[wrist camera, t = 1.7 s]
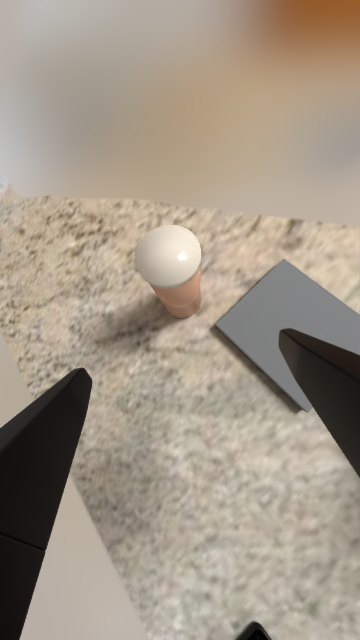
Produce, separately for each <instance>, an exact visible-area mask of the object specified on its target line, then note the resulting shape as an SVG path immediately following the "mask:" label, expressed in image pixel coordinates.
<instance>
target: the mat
mask: <svg viewBox="0 0 360 640" xmlns="http://www.w3.org/2000/svg"><path fill="white" fill-rule="evenodd" d="M215 326H216V327H217V328H218V329H219V330H220V331H221V332H222V333H223V334H224V335H225V336H226V337H227V338H228V339H229V340H230V341H231V342H232V343H233V344H234V345H235V346H237V347H238V348H239V349H240V350H241V351H242V352H243V353H244V354H245V355H246V356H247V357H248V358H249V359H250V360H251V361H252V362H253V363H254V364H255V365H256V366H257V367H258V368H259V369H260V370H261V371H262V372H264V373H265V374H266V375H267V376H268V377H269V378H270V379H271V380H272V381H273V382H274V383H275V384H276V385H277V386H278V387H279V388H280V389H281V390H282V391H283V392H284V393H285V394H286V395H287V396H288V397H289V398H291V399H292V400H293V401H294V402H295V403H296V404H297V405H298V406H299V407H300V408H301V409H302V410H304V411H306V412H308V411H309V410H310V409H311V408H312V407H313V406H312V405H311V403H310V402H309V400H308V399H307V397H306V396H305V394H304V393H303V391H302V390H301V388H300V387H299V385H298V384H297V382H296V380H295V379H294V377H293V375H292V373H291V371H290V369H289V367H288V365H287V363H286V361H285V359H284V357H283V355H282V353H281V351H280V349H279V346H278V342H279V331H280V330H281V329H285V328H292V329H295V330H297V331H300V332H303V333H305V334H308V335H310V336H313V337H315V338H318V339H320V340H323V341H325V342H328V343H331V344H333V345H336V346H338V347H341V348H343V349H346V350H348V351H351V352H354V353H356V354H359V355H360V315H359V314H358V313H356V312H355V311H354V310H352V309H351V308H350V307H348V306H347V305H346V304H344V303H343V302H342V301H340V300H339V299H338V298H336V297H335V296H334V295H332V294H331V293H329V292H328V291H327V290H325V289H324V288H323V287H321V286H320V285H319V284H317V283H316V282H315V281H313V280H312V279H311V278H309V277H308V276H307V275H305V274H304V273H303V272H301V271H300V270H299V269H297V268H296V267H294V266H293V265H292V264H290V263H289V262H288V261H286V260H285V259H283V260H282V261H281V262H280V263H279V264H278V265H276V266H275V267H274V268H273V269H272V270H271V271H270V272H269V273H268V274H267V275H266V276H265V277H264V278H263V279H262V280H261V281H260V282H259V283H258V284H257V285H256V286H255V287H254V288H253V289H252V290H251V291H250V292H249V293H247V294H246V295H245V296H244V297H243V298H242V299H241V300H240V301H239V302H238V303H237V304H236V305H235V306H234V307H233V308H232V309H231V310H230V311H229V312H228V313H227V314H226V315H225V316H224V317H223V318H222V319H221V320H220V321H218V322H217V323H216V325H215Z"/></svg>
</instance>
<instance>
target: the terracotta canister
mask: <svg viewBox="0 0 360 640" xmlns="http://www.w3.org/2000/svg"><path fill="white" fill-rule="evenodd" d="M200 263H201V248H200V244H199V241H198V240H197V238H196V237H195V235H194V234H193V233H192V232H191V231H189V230H188V229H186V228H183V227H181V226H176V225H166V226H161V227H158V228H156V229H154V230H152V231H150V232H149V233H147V234H146V235H145V236H144V237H143V238H142V240H141V241H140V242H139V244H138V246H137V249H136V252H135V264H136V267H137V269H138V271H139V273H140V274H141V276H142V277H143V278H144V280H145V281H146V282H147V283H149V284H150V285H151V287H152V288H153V290H154V291H155V293H156V294H157V296H158V297H159V299H160V300H161V302H162V303H163V305H164V306H165V308H166V309H167V311H168V312H169V313H170V314H171V315H173V316H175V317H177V318H187V317H190V316H192V315H194V314H195V313H196V312H197V311H198V309H199V307H200V305H201V287H200V268H199V267H200Z"/></svg>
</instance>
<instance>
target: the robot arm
mask: <svg viewBox="0 0 360 640" xmlns="http://www.w3.org/2000/svg"><path fill="white" fill-rule="evenodd" d="M278 346H279V349H280V351H281V353H282V355H283V357H284V359H285V361H286V363H287V365H288V367H289V369H290V371H291V373H292V375H293V377H294V379H295V380H296V382H297V384H298V385H299V387H300V388H301V390H302V391H303V393H304V394H305V396H306V397H307V399H308V400H309V402H310V403H311V405H312V406H313V408H314V409H315V411H316V412H317V414H318V415H319V417H320V418H321V420H322V421H323V423H324V425H325V426H326V428H327V429H328V431H329V432H330V434H331V435H332V437H333V438H334V440H335V441H336V443H337V444H338V446H339V447H340V449H341V450H342V452H343V453H344V455H345V456H346V458H347V459H348V461H349V462H350V464H351V465H352V467H353V468H354V470H355V471H356V473H357V474H358V476H359V477H360V355H359V354H356V353H354V352H351V351H348V350H346V349H343V348H341V347H338V346H336V345H333V344H331V343H328V342H325V341H323V340H320V339H318V338H315V337H313V336H310V335H308V334H305V333H303V332H300V331H297V330H295V329H292V328H285V329H281V330H280V331H279V342H278ZM91 389H92V379H91V377H90V376H89V374H88V373H87V371H86V370H85V369H84V368H77V369H74V370H72V371H71V372H70V373H69V374H67V375H66V376H65V377H64V378H62V379H61V380H60V381H59V382H57V383H56V384H55V385H54V386H52V387H51V388H50V389H49V390H47V391H46V392H45V393H44V394H42V395H41V396H40V397H39V398H37V399H36V400H35V401H34V402H32V403H31V404H30V405H29V406H27V407H26V408H25V409H24V410H23V411H21V412H20V413H19V414H17V415H16V416H15V417H14V418H12V419H11V420H10V421H9V422H8V423H6V424H5V425H4V426H3V427H1V428H0V640H19V639H20V636H21V633H22V629H23V626H24V623H25V619H26V615H27V612H28V609H29V606H30V602H31V599H32V596H33V592H34V589H35V586H36V582H37V579H38V576H39V572H40V569H41V566H42V562H43V559H44V556H45V550H46V548H47V545H48V541H49V538H50V535H51V532H52V528H53V525H54V522H55V518H56V515H57V512H58V508H59V505H60V501H61V498H62V495H63V492H64V488H65V485H66V482H67V478H68V475H69V472H70V468H71V465H72V462H73V458H74V455H75V451H76V448H77V445H78V441H79V438H80V435H81V431H82V428H83V425H84V421H85V418H86V414H87V409H88V404H89V399H90V394H91ZM257 634H261V635H257ZM240 640H272V639H271V638H270V637H269V635H268V634H267V632H266V631H265V630H264V628H263V627H262V626H261V625H260V624H259V623H255V624H253V625H252V626H251V628H250V629H249V630H248V631H247V632H246V633H245V634H244V636H243V637H242V638H241V639H240Z"/></svg>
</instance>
